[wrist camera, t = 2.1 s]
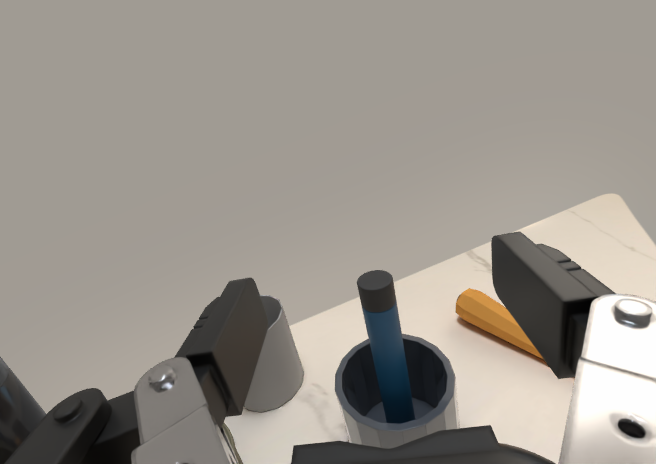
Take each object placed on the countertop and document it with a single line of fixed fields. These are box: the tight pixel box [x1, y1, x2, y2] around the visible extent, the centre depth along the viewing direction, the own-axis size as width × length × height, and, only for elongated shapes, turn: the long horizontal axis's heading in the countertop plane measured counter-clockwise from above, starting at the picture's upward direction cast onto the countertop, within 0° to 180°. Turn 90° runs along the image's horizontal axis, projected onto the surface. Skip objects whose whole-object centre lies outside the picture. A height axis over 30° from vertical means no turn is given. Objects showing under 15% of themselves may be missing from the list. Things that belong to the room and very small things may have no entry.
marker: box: [357, 270, 415, 424], centre depth 27 cm, size 3×3×18 cm
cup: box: [244, 295, 304, 412], centre depth 39 cm, size 8×8×10 cm
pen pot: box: [335, 334, 460, 449], centre depth 29 cm, size 10×10×8 cm
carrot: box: [456, 288, 543, 359], centre depth 36 cm, size 20×4×4 cm, turn 31°
